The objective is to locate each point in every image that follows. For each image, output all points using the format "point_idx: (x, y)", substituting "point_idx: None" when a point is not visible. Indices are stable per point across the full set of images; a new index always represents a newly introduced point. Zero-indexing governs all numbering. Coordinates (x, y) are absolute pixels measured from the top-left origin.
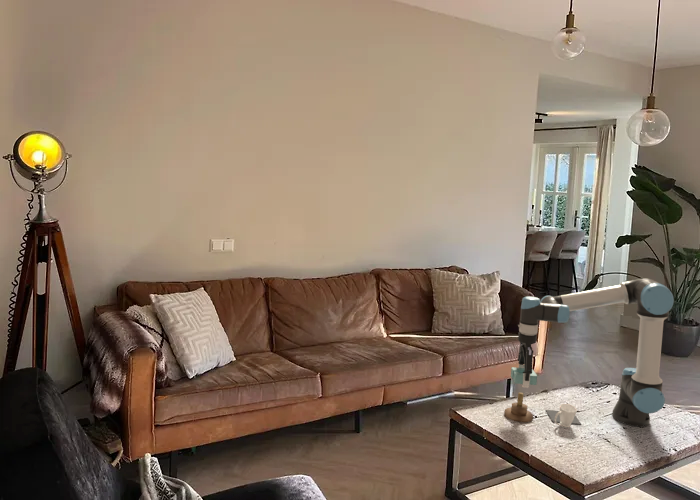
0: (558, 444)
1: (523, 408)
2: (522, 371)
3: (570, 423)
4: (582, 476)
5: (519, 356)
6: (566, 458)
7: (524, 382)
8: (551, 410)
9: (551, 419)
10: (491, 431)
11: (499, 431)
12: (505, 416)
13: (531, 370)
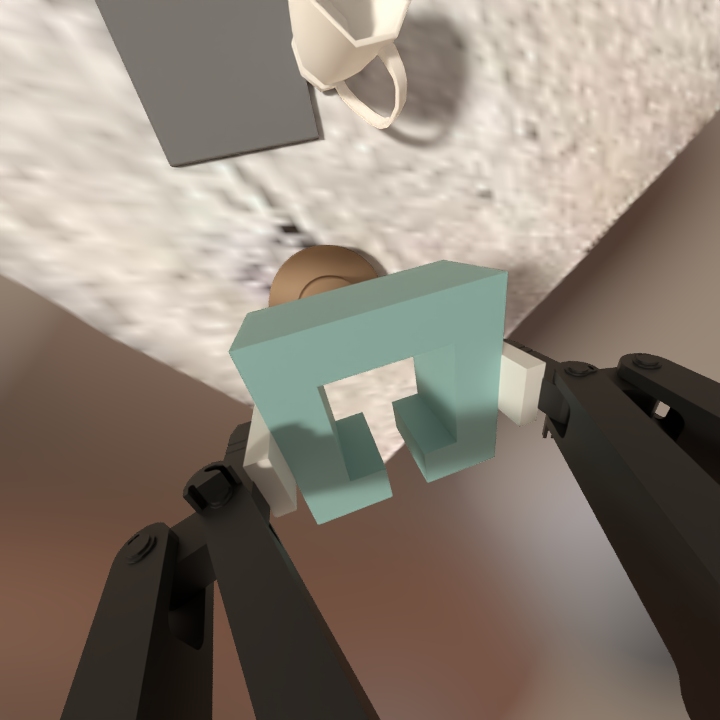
0: (523, 140)
1: None
2: (332, 426)
3: (348, 7)
4: (712, 77)
5: (208, 671)
6: (614, 121)
7: None
8: (155, 123)
9: (294, 142)
10: None
11: None
12: None
13: (690, 380)
